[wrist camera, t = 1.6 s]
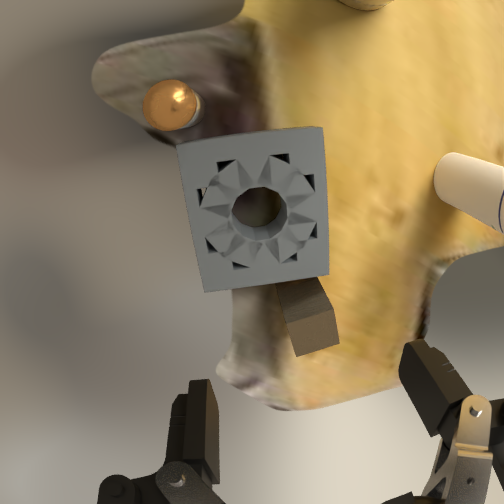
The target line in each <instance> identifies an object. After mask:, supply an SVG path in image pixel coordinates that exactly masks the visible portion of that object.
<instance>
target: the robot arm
mask: <svg viewBox="0 0 504 504" xmlns="http://www.w3.org/2000/svg"><path fill="white" fill-rule="evenodd" d="M339 1H340V2H342V3H344V4H346V5H348V6H350V7H353V8H355V9H360V10H376V9H379V8H381V7H383V6H385V5H387V4H388V3H390V2H392V1H393V0H339ZM398 372H399V378H400V381H401V383H402V384H403V386H404V388H405V390H406V392H407V393H408V395H409V397H410V399H411V401H412V403H413V404H414V406H415V408H416V410H417V412H418V414H419V416H420V417H421V419H422V421H423V423H424V425H425V427H426V429H427V431H428V433H429V435H430V437H433V436H435V435H437V434H440V435H441V437H442V438H441V440H440V443H439V447H438V451H437V455H436V459H435V462H434V466H433V469H432V472H431V476H430V478H429V481H428V482H427V484H426V486H425V488H424V490H423V492H422V495H421V496H413V494H412V492H409V493H407V494H404V495H401V496H399V497H396V498H393V499H390V500H388V501H385V502H384V503H382V504H484V502H485V498H486V494H487V489H488V484H489V478H490V473H491V467H492V466H493V468H494V470H495V472H496V475H497V477H498V479H499V481H500V484H501V486H502V488H503V491H504V399H498V400H492V401H488V400H487V399H486V398H485V397H483V396H480V395H473V394H472V392H471V391H470V390H469V388H468V387H467V385H466V384H465V382H464V381H463V379H462V378H461V377H460V375H459V374H458V373H457V371H456V370H454V367H453V366H452V364H451V363H450V362H449V360H448V359H447V357H446V356H445V355H444V353H442V352H441V351H439V350H438V349H436V348H435V347H433V348H430V347H429V346H428V344H427V343H426V342H425V340H423V339H418V340H415V341H412V342H408V343H406V344H405V345H404V349H403V353H402V357H401V361H400V365H399V370H398ZM212 484H220V470H219V410H218V404H217V401H216V398H215V395H214V392H213V389H212V385H211V382H210V380H209V379H202V380H191V381H190V382H189V389H188V394H179V395H178V396H177V398H176V399H175V401H174V403H173V404H172V410H171V418H170V427H169V433H168V441H167V450H166V458H165V462H164V464H163V466H162V467H161V468H160V469H159V470H158V471H157V472H155V473H154V474H152V475H149V476H145V477H141V478H136V479H131V480H130V479H129V478H127V477H125V476H123V475H111V476H109V477H107V478H106V479H104V480H103V482H102V483H101V485H100V488H99V494H98V502H97V504H226V503H225V502H224V501H223V500H222V499H221V498H220V497H219V496H218V495H217V494H216V493H215V492H214V491H213V490H212Z"/></svg>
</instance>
